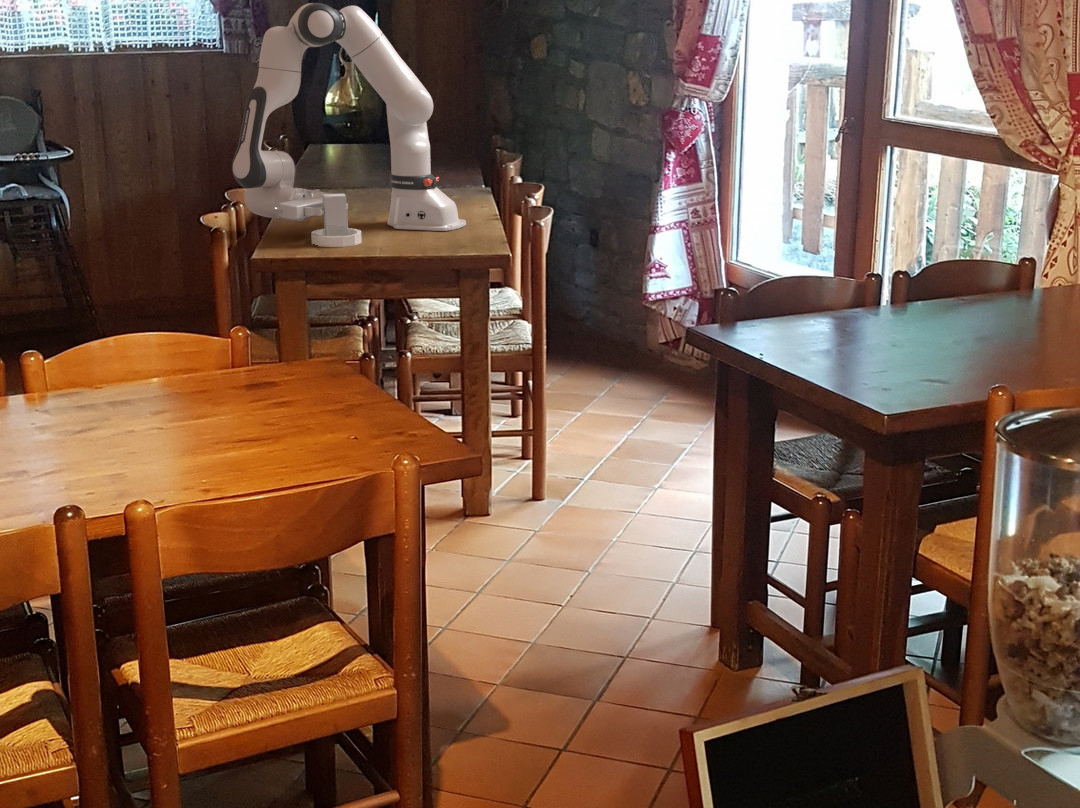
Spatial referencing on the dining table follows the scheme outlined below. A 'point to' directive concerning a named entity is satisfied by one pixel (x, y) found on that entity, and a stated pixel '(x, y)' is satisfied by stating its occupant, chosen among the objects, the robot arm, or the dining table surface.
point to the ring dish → (336, 238)
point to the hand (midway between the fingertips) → (334, 209)
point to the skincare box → (335, 215)
